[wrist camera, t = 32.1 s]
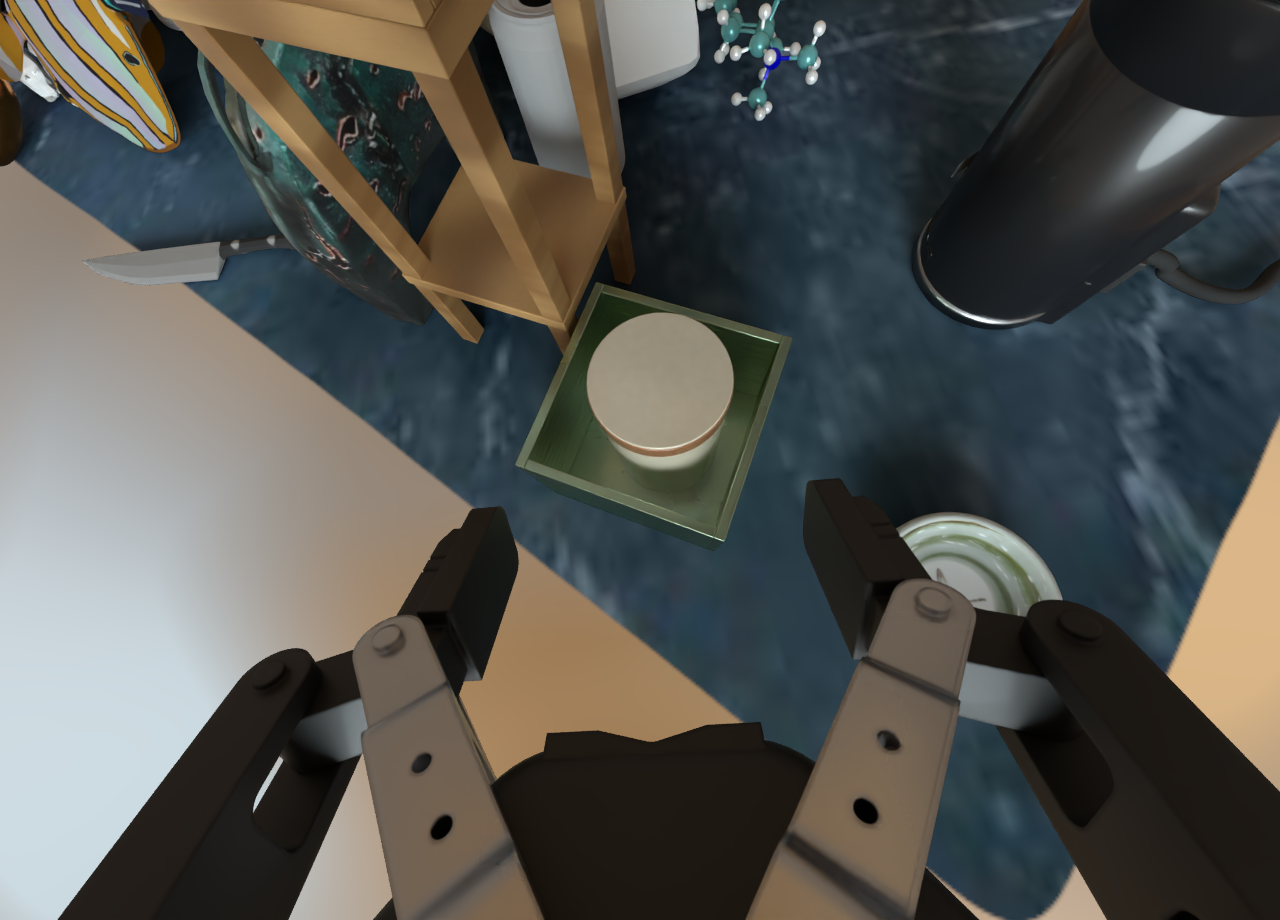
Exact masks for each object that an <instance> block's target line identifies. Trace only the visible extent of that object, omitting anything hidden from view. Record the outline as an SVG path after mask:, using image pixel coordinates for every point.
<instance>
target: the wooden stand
mask: <svg viewBox="0 0 1280 920" xmlns="http://www.w3.org/2000/svg"><path fill="white" fill-rule="evenodd" d="M147 1H148V2H149V3H150V4H151V5H152V6H153V7H154V8H155V9H156V10H157V11H158V12H159V14H160V15H161V16H163V17H165V18H170V19H172V20H173V22H174V23H175V24H176V25H177V26H178V27H179V28H180V29H181V30H182V31H183V32H184V34H185V35H186V36H187V37H188V38H189V39H190V40H191V41H192V42H193V43H194V44H195V46H196V47H197V48H198V49H199V50H200V51H201V52H202V53H203V54H204V55H205V57H206V58H207V59H208V60H209V61H210V62H211V63H212V64H213V65H214V66H215V67H216V69H217V70H218V71H219V72H220V73H221V74H222V75H223V76H224V77H225V78H226V80H227V81H228V82H229V83H230V84H231V85H232V86H233V87H234V88H235V89H236V90H237V92H238V93H239V94H240V95H241V96H242V97H243V98H244V99H245V100H246V101H247V103H248V104H249V105H250V106H251V107H252V108H253V109H254V110H255V111H256V112H257V113H258V115H259V116H260V117H261V118H262V119H263V120H264V121H265V122H266V123H267V124H268V125H269V127H270V128H271V129H272V130H273V131H274V132H275V133H276V134H277V135H278V136H279V138H280V139H281V140H282V141H283V142H284V143H285V144H286V145H287V146H288V147H289V148H290V150H291V151H292V152H293V153H294V154H295V155H296V156H297V157H298V158H299V159H300V161H301V162H302V163H303V164H304V165H305V166H306V167H307V168H308V169H309V170H310V171H311V173H312V174H313V175H314V176H315V177H316V178H317V179H318V180H319V181H320V182H321V184H322V185H323V186H324V187H325V188H326V189H327V190H328V191H329V192H330V193H331V194H332V196H333V197H334V198H335V199H336V200H337V201H338V202H339V203H340V204H341V205H342V206H343V208H344V209H345V210H346V211H347V212H348V213H349V214H350V215H351V216H352V217H353V219H354V220H355V221H356V222H357V223H358V224H359V225H360V226H361V227H362V228H363V229H364V231H365V232H366V233H367V234H368V235H369V236H370V237H371V238H372V239H373V240H374V242H375V243H376V244H377V245H378V246H379V247H380V248H381V249H382V250H383V251H384V252H385V254H386V255H387V256H388V257H389V258H390V259H391V260H392V261H393V262H394V263H395V265H396V266H397V267H398V268H399V269H400V270H401V271H402V272H403V273H402V276H403V277H404V278H405V279H406V280H407V281H408V282H409V283H411V284H414V285H415V286H416V287H417V289H418V290H419V291H420V292H421V293H422V294H423V295H424V296H425V297H426V298H427V300H428V301H429V302H430V303H431V304H432V305H433V306H434V307H435V308H436V309H437V310H438V312H439V313H440V314H441V315H442V316H443V317H444V318H445V319H446V320H447V321H448V323H449V324H450V325H451V326H452V327H453V328H454V329H455V330H456V331H457V332H458V333H459V335H460V336H461V337H462V338H463V339H465V340H468V341H471V342H475V343H478V342H479V339H480V337H481V335H482V333H483V331H484V328H483V327H482V326H481V324H480V323H479V322H478V321H477V319H476V318H475V317H474V316H473V314H472V313H471V312H470V311H469V309H468V308H467V307H466V306H465V304H464V303H463V302H462V301H461V299H463V300H466V301H470V302H473V303H476V304H479V305H483V306H486V307H489V308H492V309H496V310H499V311H502V312H505V313H509V314H512V315H515V316H518V317H522V318H525V319H528V320H531V321H535V322H538V323H541V324H544V325H547V326H548V327H549V329H550V331H551V333H552V335H553V337H554V339H555V341H556V342H557V344H558V346H559V348H560V350H561V352H562V354H563V355H564V353H565V351H566V349H567V346H568V344H569V342H570V340H571V337H572V335H573V333H574V331H575V328H576V326H577V324H578V322H579V321H578V319H577V316H576V314H575V312H576V310H577V308H578V305H579V303H580V301H581V299H582V296H583V294H584V292H585V290H586V287H587V285H588V283H589V281H590V278H591V276H592V274H593V272H594V269H595V267H596V265H597V263H598V261H599V258H600V256H601V254H602V252H603V249H604V247H605V245H606V244H607V248H608V253H609V257H610V261H611V266H612V270H613V275H614V279H615V281H619V282H622V283H626V284H630V283H631V281H632V279H633V276H634V274H635V272H636V269H635V263H634V256H633V250H632V243H631V237H630V230H629V224H628V217H627V211H626V204H625V200H626V198H627V196H626V189H625V187H624V186H623V185H622V178H621V171H620V165H619V158H618V152H617V145H616V139H615V132H614V126H613V119H612V113H611V106H610V100H609V93H608V87H607V80H606V74H605V67H604V61H603V54H602V48H601V41H600V34H599V28H598V21H597V15H596V8H595V2H594V0H551V3H552V7H553V11H554V16H555V20H556V25H557V29H558V33H559V38H560V42H561V47H562V51H563V55H564V60H565V64H566V68H567V73H568V77H569V82H570V86H571V90H572V95H573V99H574V104H575V108H576V112H577V117H578V121H579V125H580V130H581V134H582V139H583V143H584V147H585V152H586V156H587V161H588V165H589V169H590V174H591V178H592V179H591V178H587V177H583V176H579V175H575V174H571V173H567V172H563V171H559V170H554V169H550V168H546V167H542V166H538V165H534V164H530V163H526V162H522V161H518V160H514V159H512V156H511V154H510V151H509V149H508V146H507V144H506V141H505V139H504V136H503V134H502V131H501V129H500V126H499V124H498V122H497V119H496V117H495V114H494V112H493V109H492V107H491V104H490V102H489V99H488V97H487V94H486V92H485V89H484V87H483V85H482V82H481V80H480V77H479V75H478V72H477V70H476V67H475V65H474V62H473V60H472V57H471V55H470V52H469V50H468V45H469V44H470V42H471V40H472V39H473V37H474V35H475V33H476V32H477V30H478V28H479V26H480V25H481V23H482V21H483V19H484V18H485V16H486V14H487V12H488V11H489V9H490V7H491V6H492V4H493V2H494V0H147ZM252 37H257V38H261V39H266V40H270V41H275V42H279V43H284V44H289V45H293V46H298V47H302V48H307V49H311V50H316V51H320V52H325V53H330V54H334V55H339V56H343V57H348V58H352V59H357V60H362V61H366V62H371V63H375V64H380V65H384V66H389V67H394V68H398V69H403V70H407V71H412V73H413V75H414V77H415V78H416V80H417V82H418V84H419V86H420V88H421V90H422V92H423V93H424V95H425V97H426V99H427V101H428V103H429V105H430V106H431V108H432V110H433V112H434V114H435V116H436V118H437V120H438V121H439V123H440V125H441V127H442V129H443V131H444V133H445V135H446V136H447V138H448V140H449V142H450V144H451V146H452V148H453V150H454V151H455V153H456V155H457V157H458V159H459V161H460V163H461V166H460V168H459V170H458V172H457V174H456V176H455V177H454V179H453V181H452V183H451V185H450V187H449V188H448V190H447V192H446V194H445V196H444V198H443V200H442V201H441V203H440V205H439V207H438V209H437V211H436V212H435V214H434V216H433V218H432V220H431V222H430V223H429V225H428V227H427V229H426V231H425V233H424V234H423V236H422V238H421V240H420V242H419V244H418V245H417V244H416V243H415V241H414V240H413V239H412V238H411V236H410V235H409V234H408V233H407V231H406V230H405V229H404V228H403V226H402V225H401V224H400V223H399V221H398V220H397V219H396V218H395V216H394V215H393V214H392V212H391V211H390V210H389V209H388V207H387V206H386V205H385V204H384V202H383V201H382V200H381V199H380V197H379V196H378V195H377V194H376V192H375V191H374V190H373V189H372V187H371V186H370V185H369V184H368V182H367V181H366V180H365V179H364V177H363V176H362V175H361V173H360V172H359V171H358V170H357V168H356V167H355V166H354V165H353V163H352V162H351V161H350V160H349V158H348V157H347V156H346V155H345V153H344V152H343V151H342V150H341V148H340V147H339V146H338V145H337V143H336V142H335V141H334V139H333V138H332V137H331V136H330V134H329V133H328V132H327V131H326V129H325V128H324V127H323V126H322V124H321V123H320V122H319V121H318V119H317V118H316V117H315V116H314V114H313V113H312V112H311V111H310V109H309V108H308V107H307V106H306V104H305V103H304V102H303V100H302V99H301V98H300V97H299V95H298V94H297V93H296V92H295V90H294V89H293V88H292V87H291V85H290V84H289V83H288V82H287V80H286V79H285V78H284V77H283V75H282V74H281V73H280V72H279V70H278V69H277V68H276V67H275V65H274V64H273V63H272V61H271V60H270V59H269V58H268V56H267V55H266V54H265V53H264V51H263V50H262V49H261V48H260V46H259V45H258V44H257V43H256V41H255V40H254V39H253V38H252Z"/></svg>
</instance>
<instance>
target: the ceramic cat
mask: <svg viewBox="0 0 1280 920" xmlns="http://www.w3.org/2000/svg"><path fill="white" fill-rule="evenodd" d="M252 38H253V39H254V40H255V41H256V43H257V44H258V45H259V46H260V48H261V49H262V50H263V51H264V53H265V54H266V55H267V56H268V58H269V59H270V60H271V61H272V63H273V64H274V65H275V67H276V68H277V69H278V70H279V72H280V73H281V74H282V75H283V77H284V78H285V79H286V80H287V82H288V83H289V84H290V85H291V87H292V88H293V89H294V90H295V92H296V93H297V94H298V95H299V97H300V98H301V99H302V100H303V102H304V103H305V104H306V106H307V107H308V108H309V109H310V111H311V112H312V113H313V114H314V116H315V117H316V118H317V119H318V121H319V122H320V123H321V124H322V126H323V127H324V128H325V129H326V131H327V132H328V133H329V134H330V136H331V137H332V138H333V139H334V141H335V142H336V143H337V145H338V146H339V147H340V148H341V150H342V151H343V152H344V153H345V155H346V156H347V157H348V158H349V160H350V161H351V162H352V163H353V165H354V166H355V167H356V168H357V170H358V171H359V172H360V173H361V175H362V176H363V177H364V179H365V180H366V181H367V182H368V184H369V185H370V186H371V187H372V189H373V190H374V191H375V192H376V194H377V195H378V196H379V197H380V199H381V200H382V201H383V202H384V204H385V205H386V206H387V207H388V209H389V210H390V211H391V212H392V214H393V215H394V216H395V218H396V219H397V220H398V221H399V223H400V224H401V225H402V226H403V228H404V229H405V230H406V231H407V233H408V234H409V235H410V236H411V232H410V225H409V196H410V191H411V189H412V187H413V184H414V183H415V182H416V180H417V179H418V177H419V176H420V174H421V173H422V170H423V167H424V165H425V163H426V161H427V160H428V158H429V157H430V155H431V154H432V152H433V150H434V148H435V147H436V146H437V145H438V144H439V142H440V141H441V140H442V138H443V137H444V138H445V140H446V141H447V142H448V144H449V145H450V147H451V148H452V146H451V144H450V142H449V140H448V138H447V136H446V135H445V133H444V131H443V129H442V127H441V125H440V123H439V121H438V120H437V118H436V116H435V114H434V112H433V110H432V108H431V106H430V105H429V103H428V101H427V99H426V97H425V95H424V93H423V92H422V90H421V88H420V86H419V84H418V82H417V80H416V78H415V77H414V75H413V73H412V71H407V70H403V69H398V68H394V67H389V66H384V65H380V64H375V63H371V62H366V61H362V60H357V59H352V58H348V57H343V56H339V55H334V54H330V53H325V52H320V51H316V50H311V49H307V48H302V47H298V46H293V45H289V44H284V43H279V42H275V41H270V40H266V39H261V38H257V37H252ZM468 50H469V52H470V55H471V57H472V60H473V62H474V65H475V67H476V70H477V72H478V75H479V77H480V80H481V82H482V85H483V87H484V89H485V92H486V94H487V97H488V99H489V102H490V104H491V107H492V109H493V112H494V114H495V117H496V119H497V122H498V124H499V126H500V129H501V131H502V134H503V136H504V135H505V131H504V127H503V124H502V121H501V118H500V115H499V112H498V109H497V106H496V103H495V101H494V98H493V96H492V94H491V91H490V89H489V86H488V83H487V81H486V79H485V77H484V75H483V72H482V68H481V65H480V62H479V58H478V55H477V52H476V48H475V45H474V43H473V40H471V42H470V44H469V45H468ZM197 66H198V70H199V74H200V78H201V81H202V85H203V89H204V93H205V95H206V97H207V99H208V102H209V104H210V106H211V108H212V110H213V112H214V114H215V116H216V119H217V120H218V122H219V124H220V125H221V127H222V129H223V130H224V132H225V134H226V135H227V137H228V139H229V140H230V142H231V143H232V144H233V146H234V147H235V150H236V152H237V155H238V157H239V160H240V161H241V163H242V165H243V167H244V169H245V171H246V174H247V176H248V179H249V181H250V182H251V184H252V185H253V187H254V189H255V190H256V192H257V193H258V195H259V196H260V198H261V200H262V202H263V204H264V206H265V208H266V210H267V212H268V214H269V216H270V218H271V219H272V221H273V222H274V223H275V224H276V226H277V227H278V228H279V229H280V231H281V232H282V233H283V235H284V236H285V237H286V239H287V240H288V242H289V243H290V244H291V245H292V246H293V247H294V248H295V249H296V250H297V251H298V252H299V253H300V254H301V255H302V256H303V257H304V258H305V259H306V260H308V261H309V262H311V263H312V264H313V265H314V266H315V267H316V268H317V269H318V270H319V271H320V272H321V273H322V274H323V275H325V276H326V277H328V278H329V279H331V280H332V281H334V282H335V283H337V284H338V285H340V286H342V287H344V288H346V289H347V290H349V291H350V292H352V293H353V294H355V295H357V296H358V297H360V298H361V299H363V300H365V301H366V302H368V303H370V304H371V305H373V306H374V307H376V308H377V309H378V310H380V311H381V312H383V313H384V314H386V315H387V316H388V317H390V318H392V319H395V320H399V321H404V322H411V323H413V324H416V325H420V326H422V325H424V323H425V322H426V320H427V318H428V317H429V315H430V313H431V311H432V309H433V307H434V306H433V305H432V304H431V303H430V302H429V301H428V300H427V298H426V297H425V296H424V295H423V294H422V293H421V292H420V291H419V290H418V289H417V287H416V286H415V285H414V284H411V283H409V282H408V281H407V280H406V279H405V278H404V277H403V276H402V273H403V272H402V271H401V270H400V269H399V268H398V267H397V266H396V265H395V263H394V262H393V261H392V260H391V259H390V258H389V257H388V256H387V255H386V254H385V252H384V251H383V250H382V249H381V248H380V247H379V246H378V245H377V244H376V243H375V242H374V240H373V239H372V238H371V237H370V236H369V235H368V234H367V233H366V232H365V231H364V229H363V228H362V227H361V226H360V225H359V224H358V223H357V222H356V221H355V220H354V219H353V217H352V216H351V215H350V214H349V213H348V212H347V211H346V210H345V209H344V208H343V206H342V205H341V204H340V203H339V202H338V201H337V200H336V199H335V198H334V197H333V196H332V194H331V193H330V192H329V191H328V190H327V189H326V188H325V187H324V186H323V185H322V184H321V182H320V181H319V180H318V179H317V178H316V177H315V176H314V175H313V174H312V173H311V171H310V170H309V169H308V168H307V167H306V166H305V165H304V164H303V163H302V162H301V161H300V159H299V158H298V157H297V156H296V155H295V154H294V153H293V152H292V151H291V150H290V148H289V147H288V146H287V145H286V144H285V143H284V142H283V141H282V140H281V139H280V138H279V136H278V135H277V134H276V133H275V132H274V131H273V130H272V129H271V128H270V127H269V125H268V124H267V123H266V122H265V121H264V120H263V119H262V118H261V117H260V116H259V115H258V113H257V112H256V111H255V110H254V109H253V108H252V107H251V106H250V105H249V104H248V103H247V101H246V100H245V99H244V98H243V97H242V96H241V95H240V94H239V93H238V92H237V90H236V89H235V88H234V87H233V86H232V85H231V84H230V83H229V82H228V81H227V80H226V78H225V77H224V76H223V80H224V87H225V109H224V106H223V103H222V99H221V95H220V91H219V88H218V85H217V82H216V79H215V76H214V70H213V64H212V63H211V62H210V61H209V60H208V59H207V58H206V57H205V55H204V54H203V53H202V52H201V51H200V50H199V49H198V62H197ZM225 110H226V111H225ZM452 149H453V148H452ZM453 151H454V150H453ZM454 152H455V151H454Z"/></svg>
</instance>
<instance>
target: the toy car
mask: <svg viewBox="0 0 1280 920" xmlns="http://www.w3.org/2000/svg"><path fill="white" fill-rule="evenodd" d="M20 81H21V82H22V83H24V84H25V85H26V86H28V87H29V88H31V89H32V90H33V91H35V92H36V93H37V94H39V95H40V96H41V97H44V98H45V99H46V100H47V101H48V102H49V101H50V102H51V101H52V102H53V101H55V99H56V100H57V98H56V97H59V93H60V92H59V91H58V90H57V88H56V87H55V84H54V81H53V80H52V79H51V77H50V76H49V75H48V73H47V72H46V71H45V69H43V68H42V67H41V66H40V65H39V64H38V63H37V62H36V61H35V60H34V59H32V58H31V57H30V56H29V55H28V54H27V53H25V52H24V51H23V73H22V76H21V79H20ZM60 94H61V93H60ZM71 104H73V103H71ZM73 105H75V104H73ZM75 106H77V105H75ZM77 107H78V106H77Z"/></svg>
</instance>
